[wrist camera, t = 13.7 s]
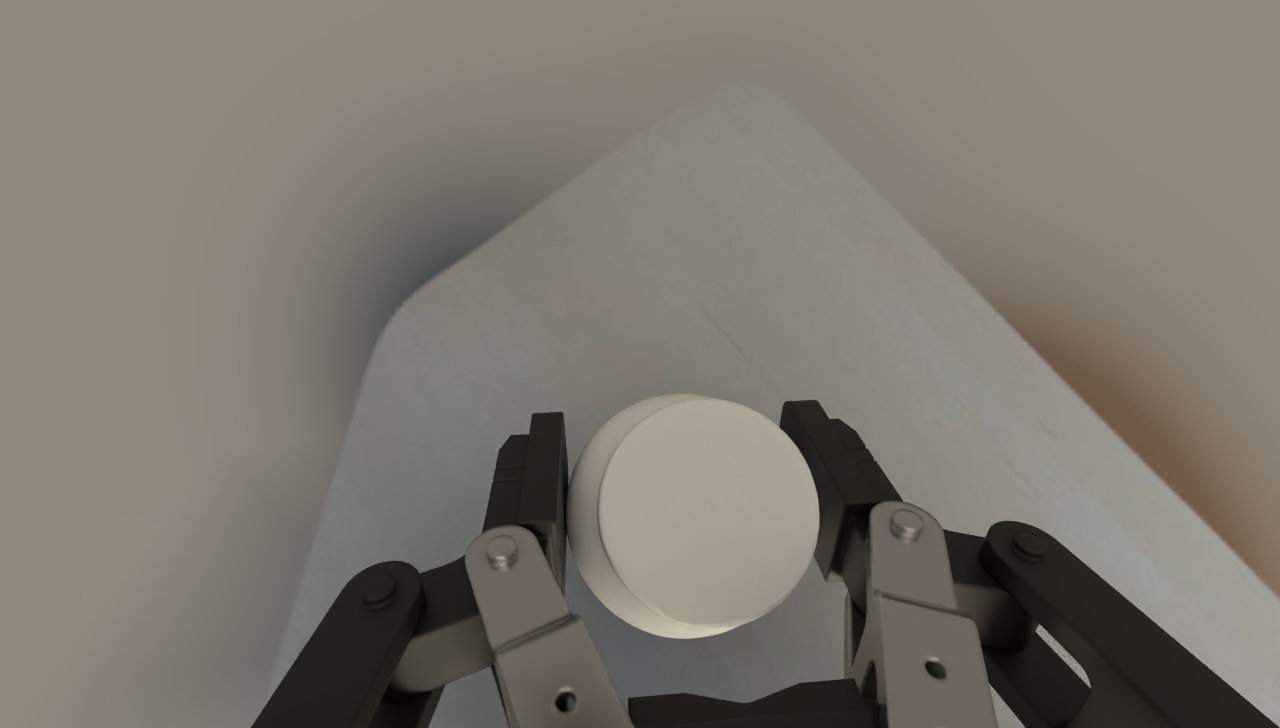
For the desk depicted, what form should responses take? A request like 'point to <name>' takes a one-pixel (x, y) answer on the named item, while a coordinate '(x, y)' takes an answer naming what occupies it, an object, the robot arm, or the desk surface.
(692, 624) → the pill bottle
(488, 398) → the desk surface
